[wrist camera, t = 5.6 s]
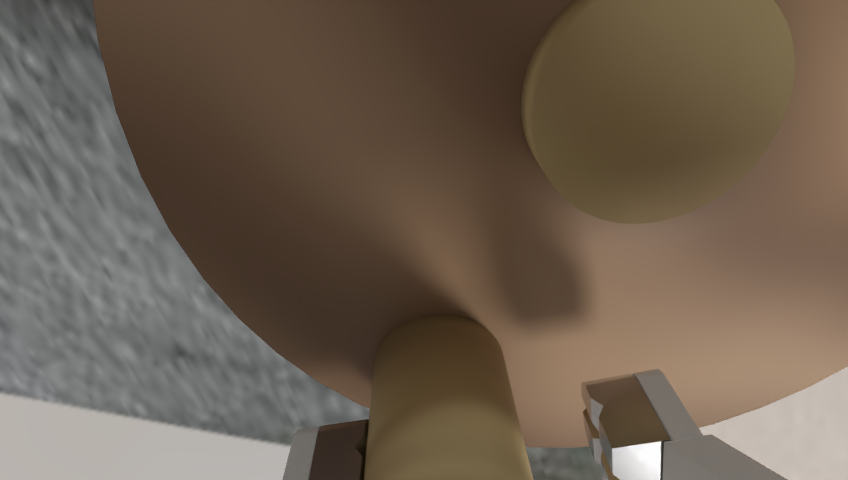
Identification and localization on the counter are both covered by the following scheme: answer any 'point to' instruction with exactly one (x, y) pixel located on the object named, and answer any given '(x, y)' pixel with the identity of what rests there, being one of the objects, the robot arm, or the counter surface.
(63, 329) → the counter surface
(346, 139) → the handwheel
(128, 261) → the counter surface
